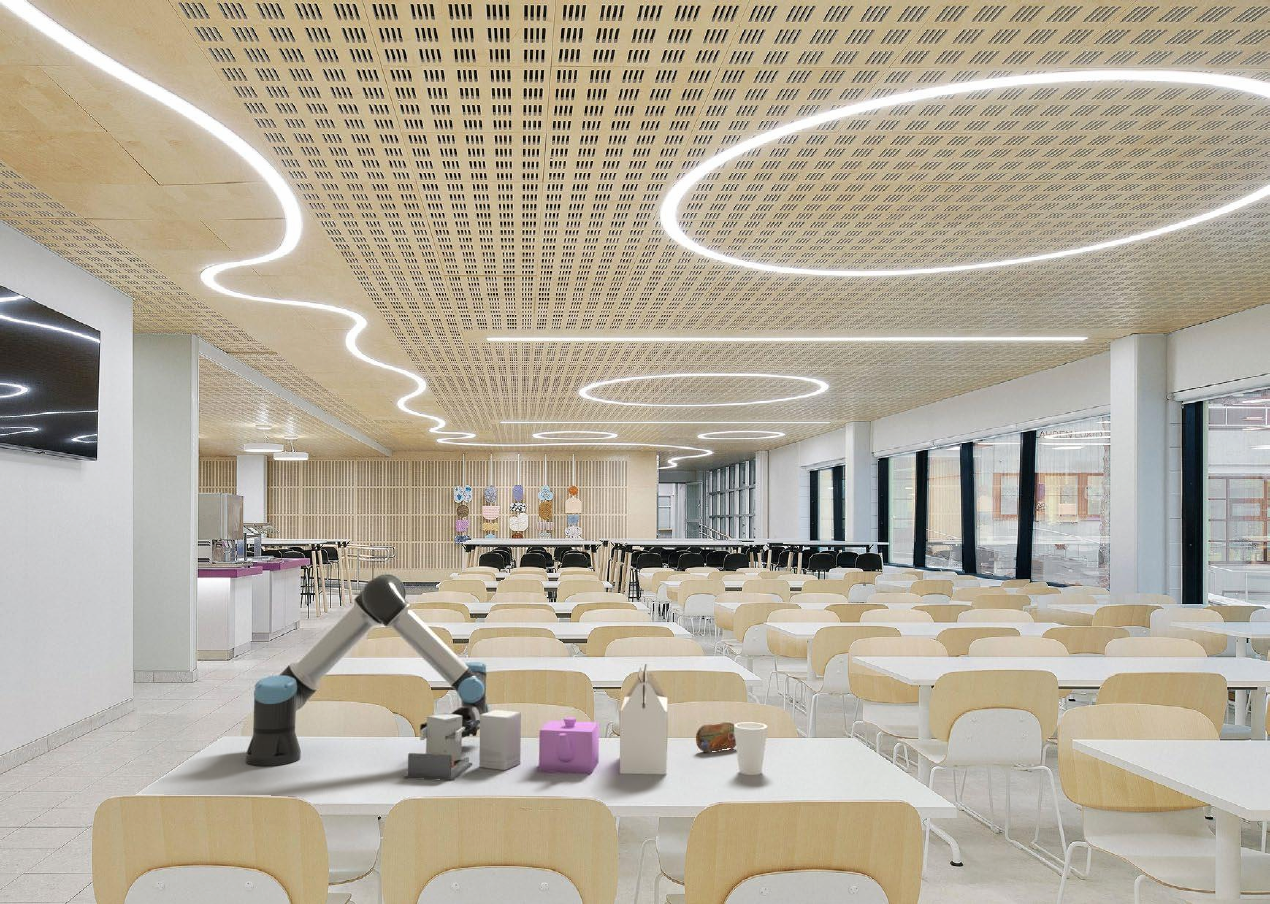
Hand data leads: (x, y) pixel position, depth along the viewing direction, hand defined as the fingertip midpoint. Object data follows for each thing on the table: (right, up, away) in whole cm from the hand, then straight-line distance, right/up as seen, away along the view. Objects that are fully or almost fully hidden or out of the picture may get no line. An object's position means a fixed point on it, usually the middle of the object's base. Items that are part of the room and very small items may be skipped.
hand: (439, 735), depth 275 cm
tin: (+81, -13, +28) cm, 87 cm away
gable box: (+58, -12, +11) cm, 60 cm away
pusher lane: (0, -10, 0) cm, 10 cm away
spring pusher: (0, -9, -2) cm, 9 cm away
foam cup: (+88, -11, +3) cm, 89 cm away
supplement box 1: (+1, -8, +4) cm, 9 cm away
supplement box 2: (+16, -11, +8) cm, 21 cm away
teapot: (+36, -11, +6) cm, 38 cm away
